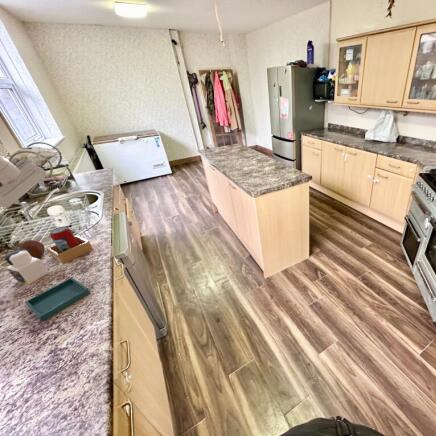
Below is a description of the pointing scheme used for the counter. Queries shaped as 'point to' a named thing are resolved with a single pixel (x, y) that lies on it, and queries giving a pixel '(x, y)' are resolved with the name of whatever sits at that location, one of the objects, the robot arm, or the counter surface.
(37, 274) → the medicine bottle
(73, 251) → the basket
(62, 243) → the beverage can
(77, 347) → the counter surface
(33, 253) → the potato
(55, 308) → the tray
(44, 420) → the counter surface
